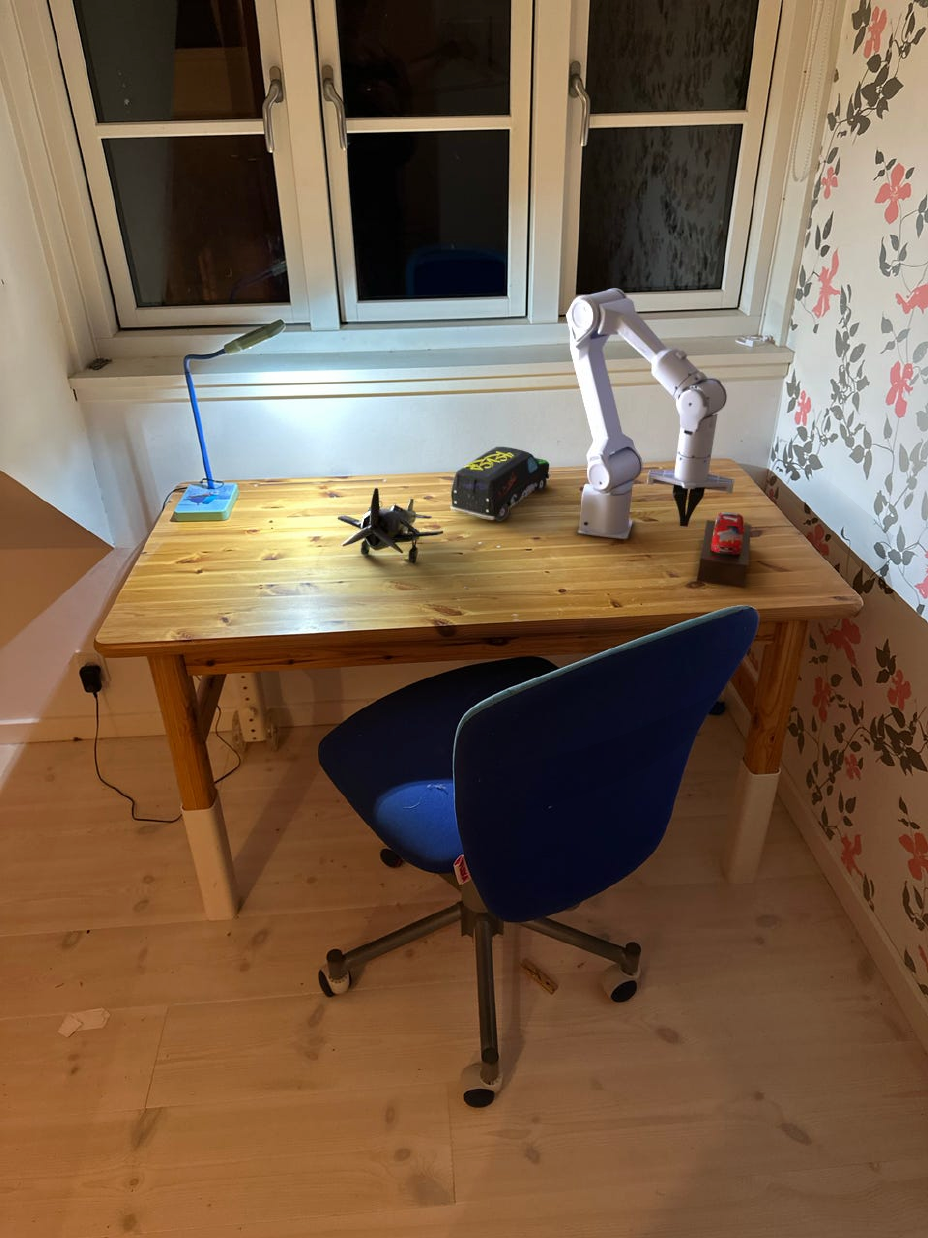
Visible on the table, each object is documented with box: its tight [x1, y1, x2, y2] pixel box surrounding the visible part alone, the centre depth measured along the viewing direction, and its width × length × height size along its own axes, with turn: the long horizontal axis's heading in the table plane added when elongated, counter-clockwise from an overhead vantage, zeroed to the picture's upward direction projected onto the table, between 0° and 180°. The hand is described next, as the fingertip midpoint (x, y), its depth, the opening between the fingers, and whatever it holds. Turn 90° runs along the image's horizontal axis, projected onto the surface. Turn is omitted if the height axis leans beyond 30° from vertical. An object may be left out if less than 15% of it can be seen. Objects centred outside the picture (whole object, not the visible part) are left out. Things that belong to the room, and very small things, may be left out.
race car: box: [711, 511, 745, 555], centre depth 148 cm, size 13×5×4 cm, turn 160°
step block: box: [696, 519, 752, 588], centre depth 151 cm, size 8×16×4 cm, turn 162°
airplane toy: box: [337, 487, 444, 565], centre depth 153 cm, size 20×19×15 cm
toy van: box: [450, 446, 551, 522], centre depth 174 cm, size 11×25×10 cm, turn 148°
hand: (684, 524), depth 150 cm, fingers closed
